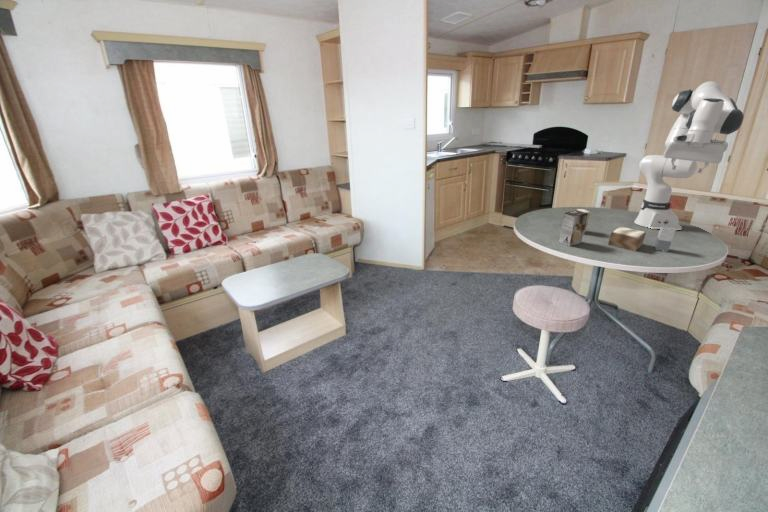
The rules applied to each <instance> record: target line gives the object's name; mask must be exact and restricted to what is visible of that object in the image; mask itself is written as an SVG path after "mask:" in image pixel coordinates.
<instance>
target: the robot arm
mask: <svg viewBox="0 0 768 512" xmlns="http://www.w3.org/2000/svg"><path fill="white" fill-rule="evenodd" d="M671 109H672V110H673V112H677V113H682V114H680V115H679V116H678V118H677V119H676V120H675V121H674V123H673V125H672V126H671V129H670V131H669V133H668V135H667V137H666V140H665V142H664V146H665V149H664V152H663V154H649V155H645V156H644V157H642V158H641V159H640V161H639V165H638V170H639V171H640V172H641V173H642V175H644V177H645V180H646V183H647V187H646V192H645V196H644V198H643V199H642V202H641V205H640V210H639V212H638V215H637V216H636V219H635V220H634V224H635V225H638V226H641V227H643V228H644V227H645V228H647V227H648V229H650V228H651V230H657V229H660V227H661V226H665V227H673V228H674V229H675V231H677V230H681V229H682V230H683V227H682V226H681V225H680V224H679V222H680V221H679V216H678V215H677V214H676V213H675V212H673V211H672V210H671V209H673V208H675V205H674V204H673V203H671V202H669V200H670V197H671V194H672V190H673V189H672V186H671V185H670V184H668V183H667V182H665V181H664V179H663V177H666V178H671V179H672V178H673V179H689V178H691V177H692V176H693V175H694V174H696V171H697V169H698V171H697V174H699V173H700V174H702V173H703V171H704V170H705V168H707V167H708V166H709V165H710V164H719V163H721V162H722V160H723V157H724V153H725V152H726V151H727V149H728V147H729V144H728V142H727V141H725V140H717V139H713V137H714V134H720V135H730V134H733V133H735V132H737V131H738V130H739V129H740V127H741V126H742V124H743V122H744V117H745V116H744V113H743V112H742V110H741V109H739V108H738V105H737V104H736V102H735V101H734V99H732V98H731V97H729V96H727V95H726V94H725V93H723V90H722V86H721V85H720V84H719V82H717V81H715V80H714V81H713V80H710V81H704V82H703V83H701V84H699V85H698V87H696V89H695V90H692V89H691V88H690V89H687V90H682V91H680V92H679V93H677V95H675V97H674V98H673V100H672V104H671ZM697 162H701V163H703V166H702V167H701V168H698V163H697ZM682 230H681V231H682Z"/></svg>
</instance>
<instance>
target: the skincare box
mask: <svg viewBox="0 0 768 512" xmlns="http://www.w3.org/2000/svg"><path fill="white" fill-rule="evenodd" d="M576 210H578V211H581V212H585V213H588V215H587V219H586V223H585V228H584V232H583V234H586V231H587V226H588V222H589V219H590V214H591V211H589V210H587V209H584V208H577V209H576Z"/></svg>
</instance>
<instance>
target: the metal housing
mask: <svg viewBox="0 0 768 512" xmlns="http://www.w3.org/2000/svg"><path fill="white" fill-rule="evenodd" d="M675 233H676V230H675V229H674V228H673V227H665V226H661V227H660V230H658V234H657V236H656V240H655V243H654V245H653V248H654V247H655V248H654V250H655V249H656V250H664V251H668V252H669V250H670V247H671V244H672V241H673V239H674V237H675ZM656 250H655V251H656Z"/></svg>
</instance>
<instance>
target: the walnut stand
mask: <svg viewBox="0 0 768 512" xmlns="http://www.w3.org/2000/svg"><path fill="white" fill-rule="evenodd" d="M646 235H647V232H646V231H643V230H638V229H633V228H629V227H624V226H618V227H617V228H615V229H614V230H613V231H611V233H610V237H609V240H608V245H609V246H613V247H618V248H619V249H625V250H629V251H633V252H637V250H639V249H640V247H642V246H643V244H644V239H645V237H646Z"/></svg>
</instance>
